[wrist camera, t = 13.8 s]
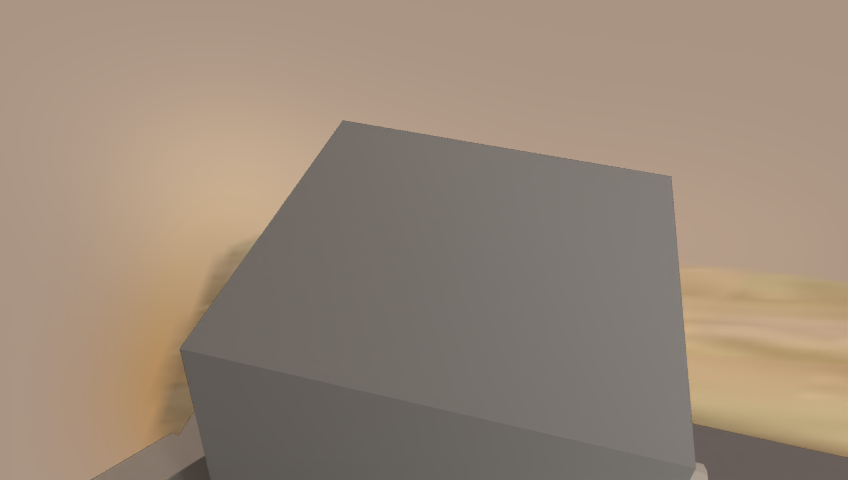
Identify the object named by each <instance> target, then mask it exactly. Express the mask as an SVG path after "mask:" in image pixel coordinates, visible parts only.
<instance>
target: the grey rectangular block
mask: <svg viewBox="0 0 848 480" xmlns="http://www.w3.org/2000/svg"><path fill="white" fill-rule="evenodd" d="M180 352H181V356H182V360H183V365H184V369H185V373H186V377H187V382H188V386H189V390H190V394H191V399H192V403H193V407H194V411H195V416H196V420H197V424H198V428H199V433H200V437H201V441H202V445H203V450H204V454H205V458H206V462H207V467H208V471H209V475H210V479H211V480H690V479H691V477H692V475H693V473H694V471H695V469H696V463H695V451H694V439H693V427H692V415H691V403H690V392H689V380H688V368H687V356H686V344H685V332H684V321H683V309H682V297H681V285H680V273H679V262H678V250H677V238H676V226H675V214H674V202H673V191H672V180H671V176H665V175H660V174H654V173H648V172H642V171H636V170H630V169H625V168H619V167H613V166H607V165H601V164H595V163H589V162H583V161H578V160H572V159H566V158H560V157H554V156H548V155H542V154H536V153H530V152H525V151H519V150H513V149H507V148H501V147H496V146H489V145H484V144H478V143H472V142H466V141H460V140H454V139H449V138H443V137H436V136H431V135H425V134H419V133H414V132H408V131H401V130H395V129H390V128H383V127H378V126H372V125H367V124H361V123H354V122H349V121H342V122H341V124H340V125H339V127H338V128H337V129H336V131H335V132H334V134H333V135H332V136H331V138H330V139H329V141H328V142H327V144H326V145H325V146H324V148H323V149H322V150H321V152H320V153H319V155H318V156H317V157H316V159H315V160H314V162H313V163H312V164H311V166H310V167H309V169H308V170H307V171H306V173H305V174H304V176H303V177H302V178H301V180H300V181H299V183H298V184H297V185H296V187H295V188H294V190H293V191H292V192H291V194H290V195H289V197H288V198H287V199H286V201H285V202H284V204H283V205H282V206H281V208H280V209H279V211H278V212H277V214H276V215H275V216H274V218H273V219H272V220H271V222H270V223H269V225H268V226H267V227H266V229H265V230H264V232H263V233H262V234H261V236H260V237H259V239H258V240H257V241H256V243H255V244H254V246H253V247H252V248H251V250H250V251H249V253H248V254H247V255H246V257H245V258H244V260H243V261H242V262H241V264H240V265H239V267H238V268H237V269H236V271H235V272H234V274H233V275H232V276H231V278H230V279H229V281H228V282H227V283H226V285H225V286H224V288H223V289H222V290H221V292H220V293H219V295H218V296H217V297H216V299H215V300H214V302H213V303H212V304H211V306H210V307H209V309H208V310H207V311H206V313H205V314H204V316H203V317H202V318H201V320H200V321H199V323H198V324H197V325H196V327H195V328H194V330H193V331H192V332H191V334H190V335H189V337H188V338H187V339H186V341H185V342H184V344H183V345H182V346H181V348H180Z"/></svg>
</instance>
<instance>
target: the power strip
mask: <svg viewBox="0 0 848 480" xmlns="http://www.w3.org/2000/svg"><path fill="white" fill-rule="evenodd" d="M692 427H693V439H694V451H695V462H698V463H701V464H704V466H705V468H706V470H707V475H708V480H848V458H846V457H841V456H837V455H832V454H828V453H823V452H819V451H814V450H810V449H805V448H801V447H796V446H792V445H787V444H783V443H778V442H773V441H769V440H764V439H760V438H755V437H751V436H746V435H742V434H737V433H733V432H728V431H724V430H719V429H715V428H710V427H706V426H701V425H697V424H692Z"/></svg>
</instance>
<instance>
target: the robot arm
mask: <svg viewBox="0 0 848 480" xmlns="http://www.w3.org/2000/svg"><path fill="white" fill-rule="evenodd" d="M695 463H696V469H695V471H694V473H693V475H692V477H691V479H690V480H708V475H707V470H706V468H705V466H704V464H701V463H698V462H695ZM92 480H211V479H210V475H209V471H208V467H207V462H206V458H205V454H204V450H203V445H202V441H201V437H200V433H199V428H198V424H197V420H196V416H195V411H194V412H193V414H192V415H191V417H190V418H189V420H188V422H187V423H186V425H185V426H184V428H183V430H182V431H181V433H180V434H179V435H176V434H172V433H170V434H168V435H167V436H165V437H163V438H162V439H160V440H158V441H157V442H155V443H153V444H151V445H150V446H148V447H146V448H145V449H143V450H141V451H139V452H138V453H136V454H134V455H133V456H131V457H129V458H128V459H126V460H124V461H122V462H121V463H119V464H117V465H115V466H114V467H112V468H110V469H109V470H107V471H105V472H104V473H102V474H100V475H99V476H97V477H95V478H93V479H92Z"/></svg>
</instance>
